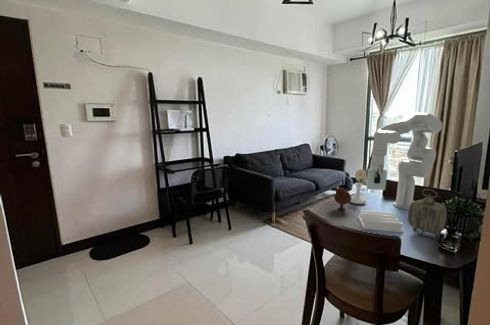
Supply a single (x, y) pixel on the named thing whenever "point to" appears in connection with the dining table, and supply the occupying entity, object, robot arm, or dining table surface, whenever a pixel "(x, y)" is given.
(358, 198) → the flower in vase
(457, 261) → the dining table surface
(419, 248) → the dining table surface
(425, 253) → the dining table surface
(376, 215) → the dish rack
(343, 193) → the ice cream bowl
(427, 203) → the tabletop clock
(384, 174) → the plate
